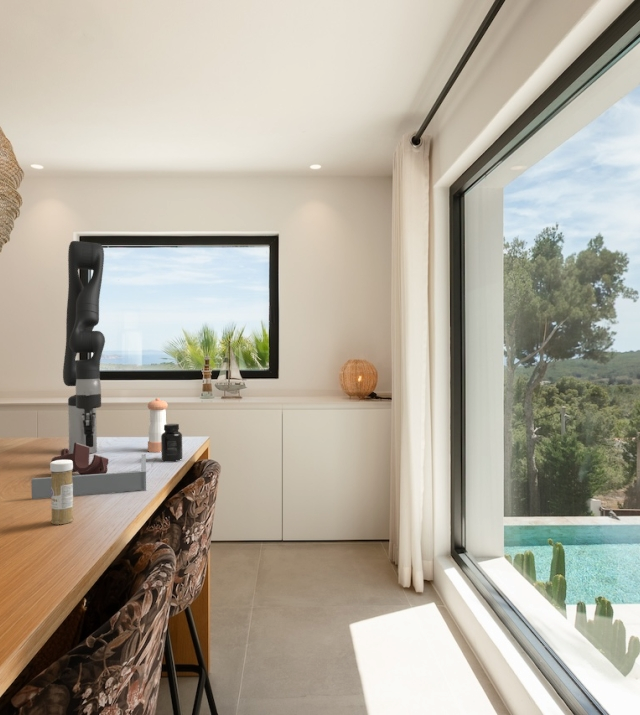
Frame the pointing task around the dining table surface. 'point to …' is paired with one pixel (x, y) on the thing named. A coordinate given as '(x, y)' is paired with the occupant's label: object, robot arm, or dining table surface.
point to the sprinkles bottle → (61, 491)
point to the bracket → (84, 460)
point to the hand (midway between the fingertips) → (89, 446)
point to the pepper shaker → (156, 424)
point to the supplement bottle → (171, 443)
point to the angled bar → (96, 483)
